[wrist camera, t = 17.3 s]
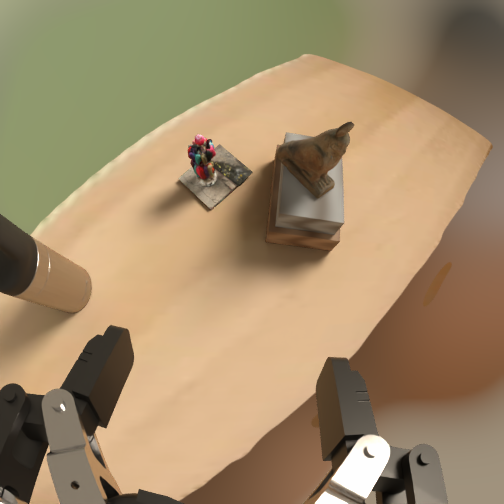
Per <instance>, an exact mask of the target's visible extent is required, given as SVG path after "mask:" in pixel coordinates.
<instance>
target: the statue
mask: <svg viewBox="0 0 504 504" xmlns="http://www.w3.org/2000/svg"><path fill="white" fill-rule="evenodd" d="M188 148H189V149H188V157H189V158H190V159H191V166H192V167H191V168H190V169H189V170H188V171H186V172H185V173H184V174H183V175H182V176H181V177H179V178H178V179H179V180H180V181H181V182H182V183H183V184H184V185H186V186H187V187H188V188H189V189H190V190H191V191H192V192H193V193H194V194H195V196H196V197H197V198H199V199H200V200H201V201H202V202H203V203H204V204H206V205H207V206H208V208H210V209H213V208H214V206H216V205H217V203H218V202H219V203H220V202H221V201H222V200H223V199H224V198H225V197H227V196H228V195H229V194H230V193H231V192H232V191H233V190H234V189H235V188H234V187H236V186H240V185H241V184H242V183H243V182H244V180H245V179H246V178H247V177H248V176H249V175H250V174H251V173H252V171H251V170H250V169H248V168H247V167H246V166H245V165H244V164H242V163H241V162H240V161H239V160H237V159H236V158H235V157H234V156H233V155H232V154H231V153H229V152H228V151H227V150H226V149H224V148H223V147H222V146H221V145H220V144H219V145H218V146H217V147H216V148H215V149H214V145H213V144H212V140H211V139H208V140H207V139H206V138H205V137H203V136H202V135H199V134H198V135H196V136H195V140H193V145H191V144H190V145H189V146H188ZM219 203H218V204H219Z"/></svg>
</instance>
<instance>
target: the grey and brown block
mask: <svg viewBox="0 0 504 504" xmlns="http://www.w3.org/2000/svg"><path fill="white" fill-rule="evenodd" d="M308 138H312V137H311V136H305V135H299V134H293V133H286V135H285V139H284V143H286V142H289V141H292V140H295V141H296V140H303V139H308ZM280 146H281V145H277V149H276V153H277V151H278V149H279V147H280ZM327 174H328V175H329V176H330V177H331V178H332V179H333V180H334V182H335V185H334V188H333V189H331V190H329V191H328V192H327V193H325V194H324V195H323V196H321V197H320V198H318V199H317V198H316V197H315V196H314V195H313V194H312V193H311V192H310V191H309V190H308V189H307V188H305V187H304V186H303V185H302V184H301V183H300V182H299V180H297V179H296V177H294V176H293V175H292V174H291V173H290V172H289V170H288V169H287V167H285V166H284V165H283V164H282V163H281V162H280V161H279V159H278V158H277V157H276V154H275V159H274V169H273V178H272V188H271V198H270V207H269V216H268V226H267V235H266V242H269V243H277V244H284V245H292V246H299V247H307V248H314V249H322V250H329V251H331V250H332V249H333V248H334V247H335V246H336V245H337V244H338V243H339V242H340V228H341V226H342V225H343V224H344V190H343V166H342V158H341V159H340V161H339V162H338V164H337V165H336V166H335V167H334V168H333V169H331V170H330V171H328V173H327Z"/></svg>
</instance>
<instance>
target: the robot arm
mask: <svg viewBox="0 0 504 504" xmlns="http://www.w3.org/2000/svg"><path fill="white" fill-rule="evenodd" d="M91 289H92V287H91V280H90V277H89V275H88V273H87V272H86V270H85V269H83V268H82V267H80V266H79V265H77V264H75V263H73V262H72V261H70V260H69V259H67V258H65V257H63V256H62V255H60V254H59V253H57V252H55V251H54V250H52V249H50V248H49V247H47V246H46V245H44V244H42V243H41V242H39V241H37V240H36V239H34V238H33V237H31V236H30V235H28V234H27V233H25V232H24V231H22V230H21V229H20V228H18V227H17V226H16V225H14V224H13V223H12V222H10V221H9V220H8V219H6V218H5V217H3V216H2V215H1V214H0V292H2V293H4V294H7V295H10V296H13V297H16V298H19V299H23V300H26V301H29V302H33V303H36V304H39V305H43V306H46V307H50V308H54V309H57V310H61V311H65V312H69V313H74V312H78V311H80V310H81V309H82V308H83V307H85V305H86V304H87V302H88V300H89V298H90V295H91ZM133 362H134V353H133V348H132V344H131V339H130V334H129V331H128V329H126V328H121V327H117V326H113V325H110V326H109V327H108V328H107V330H106V331H105V333H104V335H103V336H102V335H96V336H95V337H94V338H92V339H91V340H90V341H88V343H87V345H86V346H85V348H84V349H83V352H82V353H81V354H80V356H79V358H78V360H77V361H76V362H75V364H74V366H73V367H72V369H71V371H70V373H69V374H68V376H67V378H66V379H65V381H64V383H63V385H62V386H61V387H60V389H54V390H51V391H49V392H48V393H47V394H46V395H36V394H27V393H26V392H25V391H24V389H23V388H22V387H21V386H20V385H18V384H8V385H6V386H4V387H3V388H2V389H1V390H0V504H29V502H30V499H31V495H32V492H33V489H34V486H35V482H36V479H37V476H38V473H39V470H40V467H41V464H42V462H43V459H44V456H45V453H46V451H47V448H48V445H49V446H50V453H48V454H47V462H48V466H49V469H50V473H51V476H52V480H53V483H54V486H55V489H56V492H57V495H58V498H59V501H60V504H184V503H181V502H179V501H177V500H174V499H172V498H170V497H168V496H163V495H159V494H155V493H152V492H148V491H144V490H141V489H139V491H138V494H136V493H132V494H122V493H121V491H120V488H119V486H118V485H117V483H116V481H115V479H114V478H113V476H112V474H111V473H110V471H109V468H108V466H107V463H106V461H105V458H104V456H103V453H102V451H101V448H100V445H99V442H98V439H97V437H96V434H95V431H96V428H97V426H101V427H104V428H107V425H108V423H109V420H110V418H111V415H112V413H113V411H114V408H115V406H116V403H117V401H118V399H119V396H120V394H121V392H122V389H123V387H124V385H125V382H126V380H127V378H128V375H129V373H130V371H131V369H132V366H133ZM316 399H317V407H318V417H319V426H320V436H321V447H322V458H323V461H331V460H332V468H331V469H330V470H329V472H328V473H327V474H326V476H325V477H324V478H323V480H322V481H321V482H320V484H319V485H318V486H317V487H316V489H315V490H314V491H313V492H312V493H311V495H310V496H309V497H308V498H307V499H306V501H305V502H304V503H303V504H365V499H366V497H367V496H368V494H369V492H370V491H376V501H377V502H376V503H377V504H448V500H447V495H446V489H445V484H444V479H443V474H442V469H441V465H440V460H439V456H438V453H437V451H436V450H435V449H434V448H433V447H432V446H430V445H427V444H419V445H417V446H415V447H414V448H413V449H412V450H409V449H402V448H396V447H392V446H389V445H388V443H387V442H386V441H385V440H384V439H383V438H381V437H379V435H378V432H377V428H376V424H375V419H374V415H373V411H372V407H371V404H370V402H369V400H370V399H369V395H368V393H367V388H366V384H365V380H364V379H363V378H362V376H361V375H360V374H359V372H358V371H351V370H350V366H349V362H348V359H347V358H337V357H328V358H327V360H326V362H325V364H324V367H323V369H322V371H321V373H320V376H319V378H318V380H317V384H316Z"/></svg>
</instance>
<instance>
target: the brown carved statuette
mask: <svg viewBox="0 0 504 504" xmlns="http://www.w3.org/2000/svg"><path fill="white" fill-rule="evenodd" d="M353 126H354V124H353V123H352V122H347V123H345V124H343V125H342V126H340V127H339V128H336V129H331V130H328V131H325V132H323V133H321V134H319V135H318V136H316V137H312V138H308V139H303V140H296V141H295V140H292V141H289V142H286V143H284V144H282V145H281V146H280V147H279V149H278V151H277V153H276V157H277V158H278V159H279V161H280V162H281V163H282V164H283V165H284V166H285V167H287V169H288V170H289V172H290V173H291V174H292V175H293V176H294V177H296V179H297V180H299V182H300V183H301V184H302V185H303V186H304V187H305V188H307V189H308V190H309V191H310V192H311V193H312V194H313V195H314V196H315V197H316V198H317V199H318V198H320V197H321V196H323V195H324V194H325V193H327V192H328V191H329V190H331V189H333V188H334V185H335V182H334V180H333V179H332V178H331V177H330V176H329V175H328V174H327V173H328V171H330V170H331V169H333V168H334V167H335V166H336V165H337V164H338V162H339V161H340V159H341V158H342V156H343V155H344V154H345V152H346V148H347V146H348V145H349V143H350V137H349V134H348V132H349V131H350V130H351V129H352V128H353Z"/></svg>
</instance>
